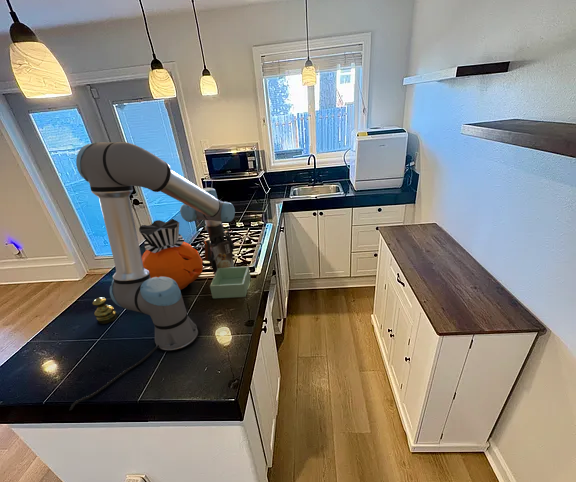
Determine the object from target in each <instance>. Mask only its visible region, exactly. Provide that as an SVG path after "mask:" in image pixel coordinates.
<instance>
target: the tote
mask: <svg viewBox="0 0 576 482" xmlns="http://www.w3.org/2000/svg"><path fill="white" fill-rule="evenodd" d="M251 277H252V276H251V271H250V266H249V265H248V266H247V265H246V266H235V267H229V268H218V270H217V272H216V274H214V276H213V278H212V280H211V283H210V285H209V289H210V292H211V297H212V299H230V298H246V296H247V294H248V291H249V290H248V289H249V286H250V282H251Z"/></svg>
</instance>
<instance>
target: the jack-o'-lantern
mask: <svg viewBox="0 0 576 482" xmlns="http://www.w3.org/2000/svg"><path fill="white" fill-rule="evenodd" d="M138 232H139V234H140V235H141V236H142V237H143V239H144V240H145V241H144V244H143V245H144V250H145V251H144V252H143V253H142V255H141V257H142V262H143V267H144V268H145V269H147V270H148V271H149V273H150V278H153V277H160V276H163V277H169V278H171V279H173V280H174V281H176V283H177V284H178V287H179V289H180V291H181V290H182V291H183V290H184V289H186V288H187V287H188V285H190V284H193V283H194V282H195V281H196V280H197V279H198V278H199V277H200V276H201V274H202V273H203V270H204V265H203V264H204V263H203V262H204V260H203V258H202V257H201V255H200V253H199V251H198V250H197V249H196V248H194V247H193V246H192V245H191V244H190V243H189V242H186V239H185V238H184V236H183V235H182V234H180V222H179V221H178V220H176V219H174V218H170V219H169V220H168V221H163V220H160V219H156V220H154V221H153V222H152V223H151V224H148V225H147V224H141V225H140V226H139V228H138Z"/></svg>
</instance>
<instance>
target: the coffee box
mask: <svg viewBox="0 0 576 482" xmlns="http://www.w3.org/2000/svg"><path fill="white" fill-rule="evenodd" d="M225 240H226V239H225ZM213 245H214V244H213ZM213 245H211V244H210V250H211V251H212V252H213V254H214V260H215V262H216V266H217V270H218V268H229V267H236V266H235V262H234V258H233V257H234V256H233V257H232V253H233V252H231V247H230V243H229V241H227V240H226V241H224V242H223V241H222V242H220V243H218V244H217V245H216V246H213ZM213 274H214V275H215V274H216V273H215V272H213Z"/></svg>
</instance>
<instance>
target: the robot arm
mask: <svg viewBox="0 0 576 482" xmlns="http://www.w3.org/2000/svg"><path fill="white" fill-rule="evenodd" d="M75 160H76V161H75V162H76V169H77V171H78V173H79V175H80V177H81V178H83V179H84V181H85V182H87V183H89V187H90V192H91V193H92V194H93V195H95V196H96V197H97V198H98V201H99V205H100V210H101V213H102V217H103V218H102V219H103V222H104V226H105V230H106V233H107V239H108V242H109V246H110V251H111V254H112V258H113V263H114V267H115V272H114V273H113V275H112V281H111V285H110V286H109V297H110V299H111V300H112V302H113V303H114V304H115V305H117V306H118V307H120V308H122V309H125V310H127V311H133V312H137V313H141V314H143V315H148V316H150V319H151V321H152V324H153V326H154V343H155V345H156V346H155V347H154V348H153V349H152V350H151V351H149V352H148V353H147V354H146V355H145V356H144V357H143V358H141V359H140V360H138V361H137V362H136V363H134V364H133V365H131V366H129V367H128V368H126V369H125V370H123V371H121V372H120V373H119V374H117V375H116V376H115V377H113V378H112V379H111V380H109V381H108V382H107V383H106V384H104V385H103V386H102V387H101V386H100V388H99V389H97V390H95V391H94V392H92V393H91V394H89V395H86V396H84V397H81V398H79V399H77V400H75V401H74V402H73V403H72V404H71V406H70V407H69V410H68V411H73V409H74V408H75V407H76V405H78V404H79V403H81V402H84V401H86V400H89V399H90V398H93V397H95V396H96V395H97V394H99V393H100V392H102V391H103V390H105V389H106V388H107V387H108V386H110V385H112V384H113V383H114V382H115V381H116V380H118V379H120V378H121V377H122V376H124V375H125V374H126V373H128V372H129V371H131V370H133V369H134V368H136V367H137V366H139V365H141V364H142V363H143V362H144V361H145V360H147V359H148V358H150V356H151V355H152V354H153V353H154V352H155V351H156V350H157V349H158V350H160V351H162V352H164V353H165V352H167V353H173V352H178V351H182V350H184V349H187V348H189V347H190V346H191V345H192V344H193V343H195V341H197V339H198V337H199V329H198V326H197V324H196V323H195V322H194V321H193V319H191V317H190V316H189V315H188V312H187V309H186V304H185V303H184V302H185V301H184V298H183V295H182V292H181V290H180V289H179V287H178V284H177V283H176V281H174V280H173V279H171V278H169V277H163V276H160V277H153V278H150V273H149V271H148V270H147V269H145V268H144V267H143V262H142V252H141V248H140V242H139V238H138V233H137V229H136V228H137V227H136V223H135V219H134V212H133V208H132V203H131V198H130V196H131V195H132V193H133V191H134V187H140V188H144V189H147V190H150V191H152V192H153V193H160V192H161V193H163V194H165V195H166V196H169V197H170V198H172V199H174V200H176V201H178V202H179V203H182V204H181V206H180V208H179V213H180V216H181V217H182V219H183V220H184V221H185V222H187V223H193V222H196V221H197V220H201V221H204V224H205V229H206V233H207V234H208V238H207V239H206V238H205V239H203V244H204V261H206V262H208V263H209V265H210V267H211V269H212V272H213V273H214V272H215V273H216V272H217V266H216V262H215V260H214V254H213V252H212V251H211V250H210V244H211V245H213V244H214V245H213V246H216V245H217V244H218V243H220V242H222V241H223V242H224V241H226V240H227V241H229V243H230V247H231V252H232V257H234V251H235V249H236V246H235V243H234V242H233V239H232V237H231V234H230V232H231V231H229V230H224V224H223V223H231V222H232V221H233V220H234V219H235V214H236V209H235V207H234V205H233V203H231V202H228V201H222V200H220V199H218V195H217V191H216V189H215V188H213V187H205V188H200V187H199V186H198V185H196V184H194V183H193V182H191V181H190V180H188V179H187V178H185V177H184V176H182V175H180V174H178V173H177V172H176V171H174V170H172V168H171V165H169V164H168V163H167V162H166V161H165V160H163V159H162V158H160V157H159V156H157V155H155V154H153V152H150V151H148V150H147V149H145V148H142V147H141V146H139V145H136V144H134V143H131V142H127V141H114V142H113V141H112V142H108V141H106V142H100V141H97V142H96V141H95V142H93V143H92V142H91V143H88V144H87V143H86V144H84V145H83V146H82V147H81V148H80V149H79V150H78V152H77V155H76V158H75Z"/></svg>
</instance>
